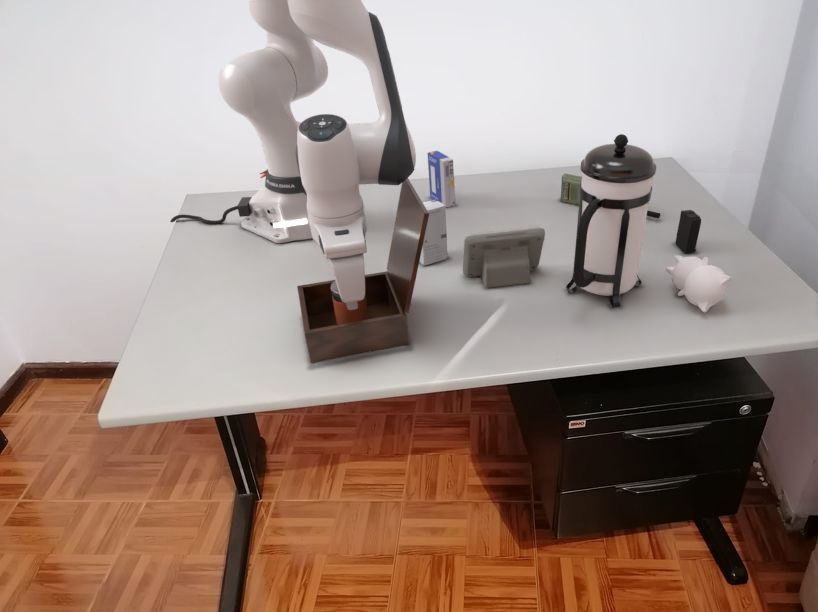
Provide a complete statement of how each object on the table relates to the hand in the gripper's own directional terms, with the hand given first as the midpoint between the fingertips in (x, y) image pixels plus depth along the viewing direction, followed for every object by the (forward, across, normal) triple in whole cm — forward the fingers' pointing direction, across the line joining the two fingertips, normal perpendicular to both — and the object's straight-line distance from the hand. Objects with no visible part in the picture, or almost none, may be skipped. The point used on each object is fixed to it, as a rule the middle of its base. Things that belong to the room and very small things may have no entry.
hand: (349, 297), depth 110 cm
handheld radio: (+8, -32, +66) cm, 74 cm away
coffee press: (+8, +1, +48) cm, 49 cm away
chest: (+7, 0, 0) cm, 7 cm away
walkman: (+8, -51, +30) cm, 59 cm away
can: (+6, 0, 0) cm, 6 cm away
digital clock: (+8, -11, +32) cm, 34 cm away
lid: (-9, 0, +10) cm, 13 cm away
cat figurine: (+8, +9, +64) cm, 65 cm away
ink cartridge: (+8, -9, +73) cm, 74 cm away
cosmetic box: (+8, -23, +20) cm, 31 cm away
